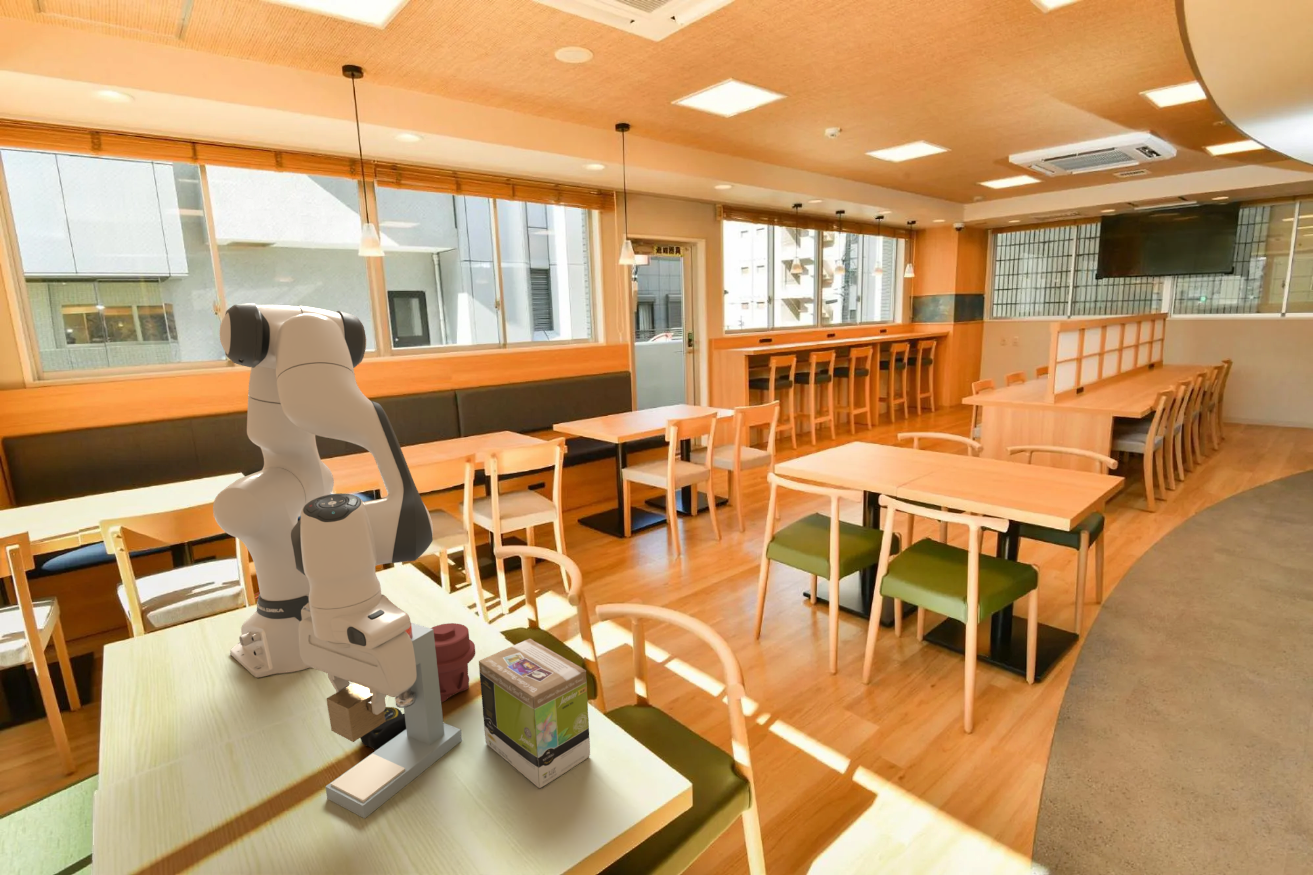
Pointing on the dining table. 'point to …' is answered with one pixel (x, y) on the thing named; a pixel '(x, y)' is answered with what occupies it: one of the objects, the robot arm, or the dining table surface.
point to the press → (402, 741)
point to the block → (352, 712)
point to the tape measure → (386, 729)
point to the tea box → (535, 710)
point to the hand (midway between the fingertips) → (361, 705)
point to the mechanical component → (452, 658)
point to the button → (407, 696)
